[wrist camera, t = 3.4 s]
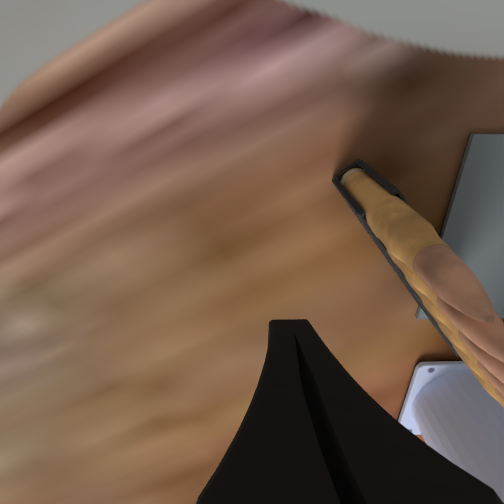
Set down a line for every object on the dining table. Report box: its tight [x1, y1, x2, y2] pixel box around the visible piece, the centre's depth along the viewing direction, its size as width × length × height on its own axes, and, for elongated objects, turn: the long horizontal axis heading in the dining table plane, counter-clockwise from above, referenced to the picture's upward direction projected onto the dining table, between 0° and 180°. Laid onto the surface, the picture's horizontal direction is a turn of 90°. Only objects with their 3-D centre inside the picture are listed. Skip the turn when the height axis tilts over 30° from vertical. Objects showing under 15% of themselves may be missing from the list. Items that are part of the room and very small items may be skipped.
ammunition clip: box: [332, 159, 504, 408], centre depth 15 cm, size 11×2×12 cm, turn 39°
